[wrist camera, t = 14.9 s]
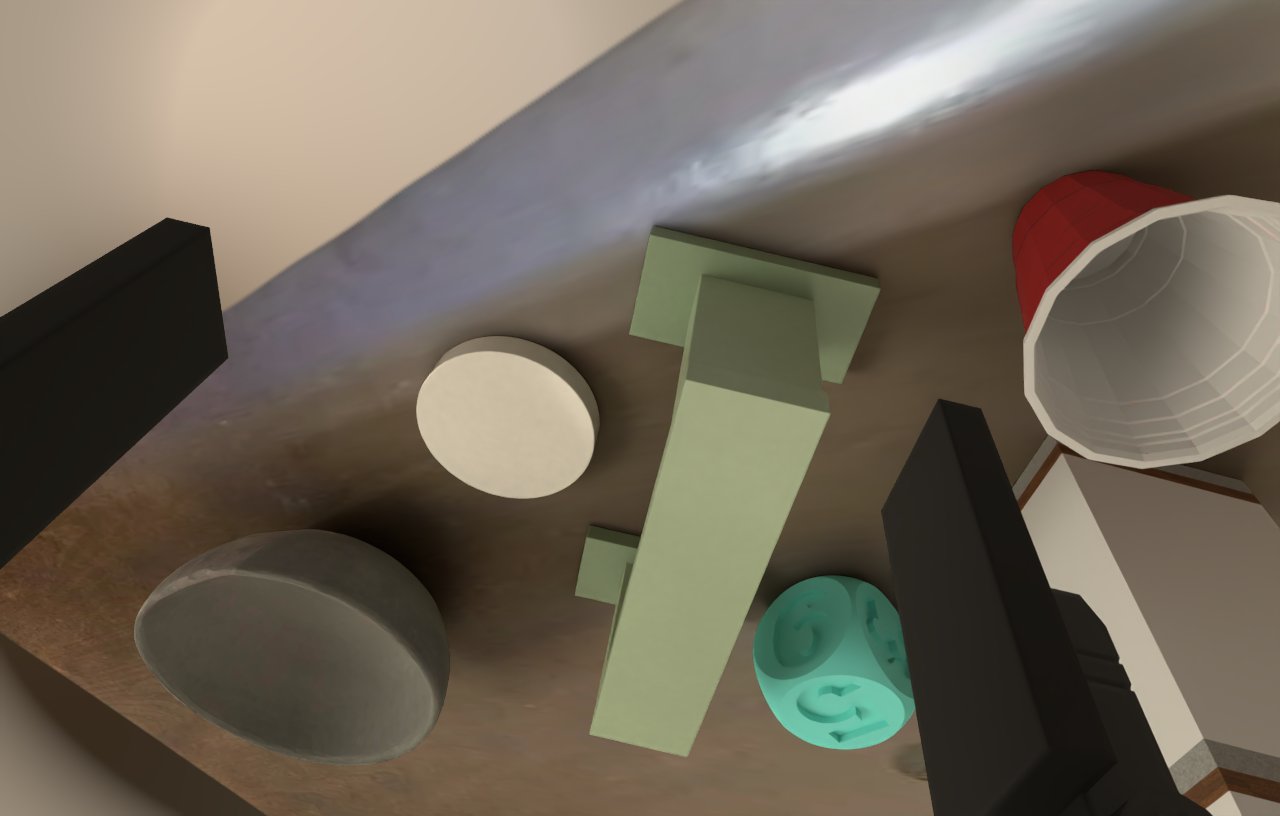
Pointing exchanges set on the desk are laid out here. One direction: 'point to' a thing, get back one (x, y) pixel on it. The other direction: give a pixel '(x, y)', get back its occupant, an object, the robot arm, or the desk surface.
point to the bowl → (301, 646)
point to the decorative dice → (834, 663)
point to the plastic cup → (1149, 318)
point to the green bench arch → (715, 469)
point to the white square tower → (1175, 608)
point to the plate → (508, 417)
